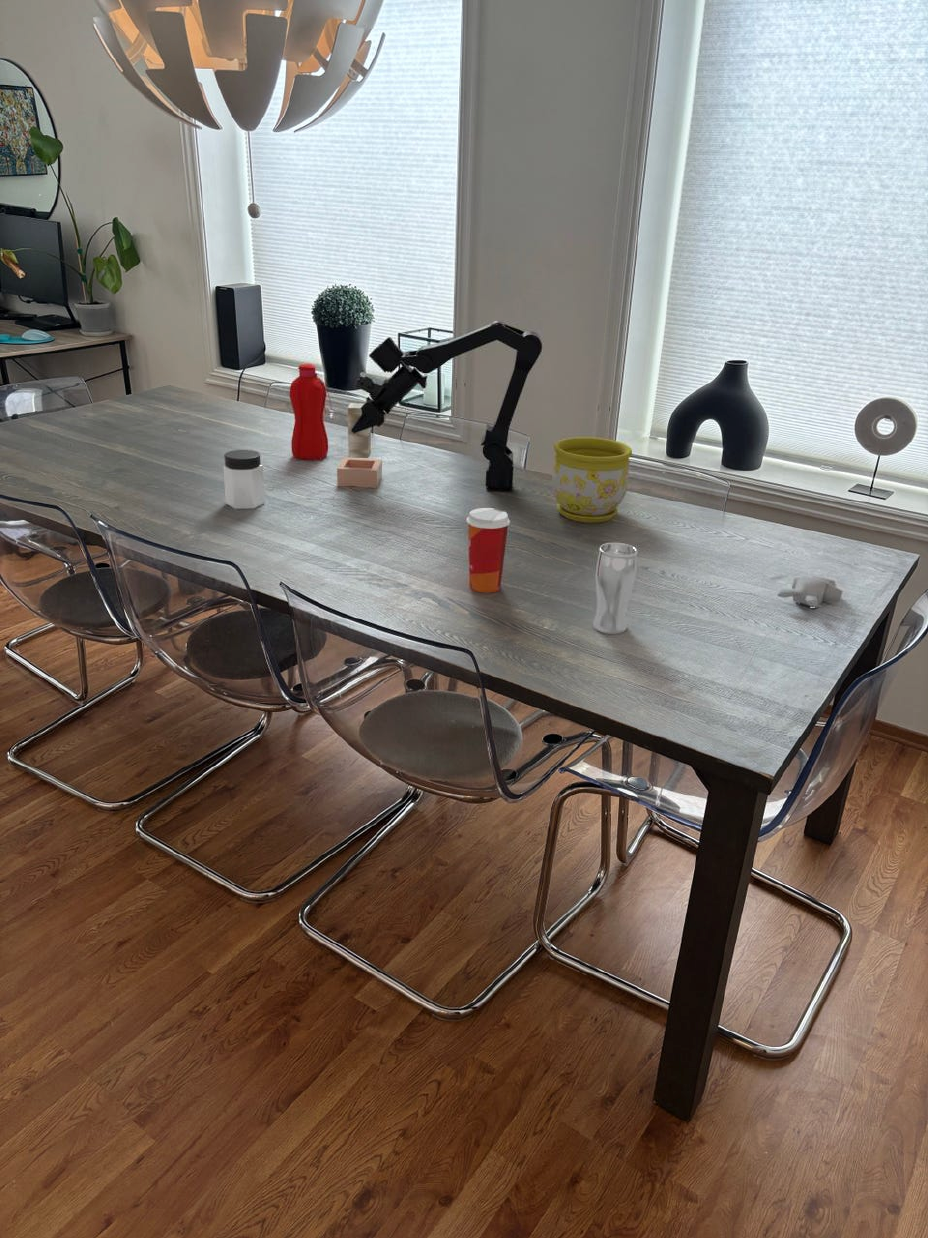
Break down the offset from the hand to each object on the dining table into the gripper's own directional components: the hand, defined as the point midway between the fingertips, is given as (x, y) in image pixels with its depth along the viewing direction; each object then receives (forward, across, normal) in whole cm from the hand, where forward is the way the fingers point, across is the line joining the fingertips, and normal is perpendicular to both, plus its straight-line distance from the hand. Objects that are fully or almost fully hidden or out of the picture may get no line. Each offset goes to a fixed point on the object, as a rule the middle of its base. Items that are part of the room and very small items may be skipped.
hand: (354, 429), depth 238 cm
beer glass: (-31, +79, +51) cm, 99 cm away
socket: (+9, 0, +10) cm, 13 cm away
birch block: (+4, 0, +6) cm, 7 cm away
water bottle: (+20, -20, -1) cm, 28 cm away
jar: (+26, +22, -6) cm, 34 cm away
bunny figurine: (-59, +64, +79) cm, 118 cm away
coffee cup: (-15, +64, +35) cm, 74 cm away
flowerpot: (-31, +17, +51) cm, 62 cm away
